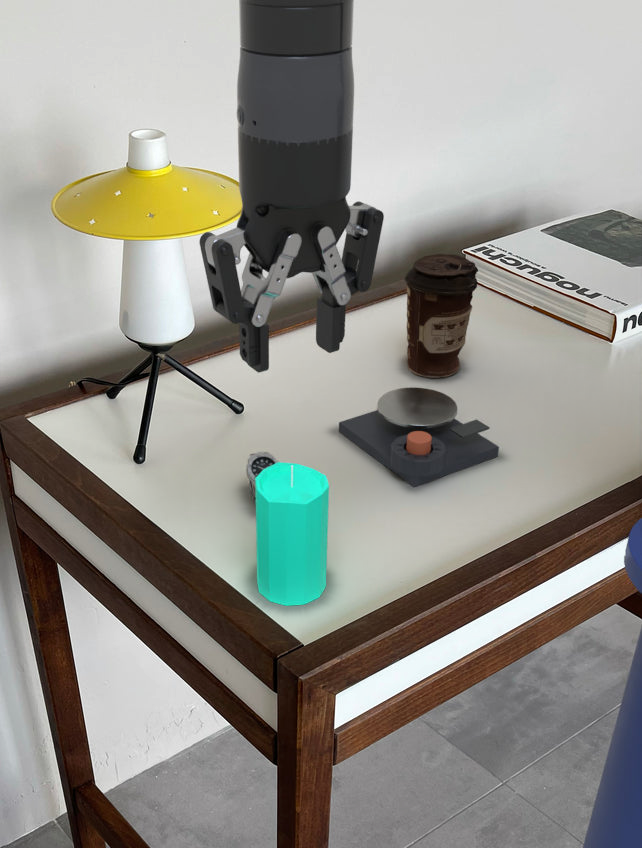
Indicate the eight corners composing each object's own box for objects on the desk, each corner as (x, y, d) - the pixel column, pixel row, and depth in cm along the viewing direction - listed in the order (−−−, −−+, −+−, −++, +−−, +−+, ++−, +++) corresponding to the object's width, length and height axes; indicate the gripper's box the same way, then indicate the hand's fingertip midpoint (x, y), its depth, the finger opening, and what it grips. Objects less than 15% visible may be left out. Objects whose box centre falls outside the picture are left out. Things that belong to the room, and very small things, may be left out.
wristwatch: (251, 517, 96) (250, 472, 93) (238, 483, 101) (237, 439, 98) (287, 513, 96) (287, 468, 94) (273, 479, 101) (273, 435, 99)
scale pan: (494, 427, 104) (494, 424, 103) (429, 449, 100) (430, 446, 100) (423, 383, 112) (423, 380, 111) (361, 403, 108) (361, 399, 108)
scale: (502, 459, 104) (505, 434, 102) (411, 492, 99) (414, 466, 97) (418, 405, 114) (421, 381, 112) (332, 433, 109) (333, 408, 107)
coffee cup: (485, 373, 120) (498, 268, 113) (430, 390, 117) (440, 283, 109) (437, 346, 126) (447, 245, 119) (384, 362, 123) (391, 259, 116)
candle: (246, 571, 89) (243, 454, 82) (309, 556, 91) (311, 440, 84) (271, 612, 84) (270, 492, 77) (337, 596, 86) (342, 476, 79)
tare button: (435, 452, 100) (436, 438, 99) (416, 458, 99) (417, 445, 98) (420, 441, 102) (421, 428, 101) (401, 448, 101) (402, 434, 100)
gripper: (227, 150, 60) (234, 402, 70) (418, 118, 66) (401, 354, 76) (170, 124, 65) (184, 362, 75) (352, 97, 72) (343, 319, 81)
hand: (293, 357), depth 75 cm, fingers open, 5 cm apart
